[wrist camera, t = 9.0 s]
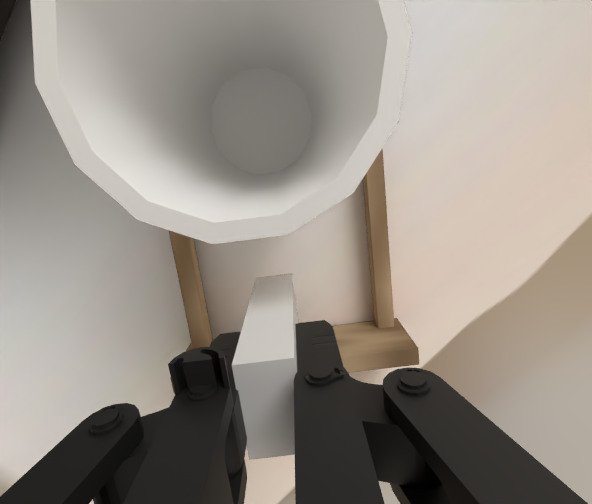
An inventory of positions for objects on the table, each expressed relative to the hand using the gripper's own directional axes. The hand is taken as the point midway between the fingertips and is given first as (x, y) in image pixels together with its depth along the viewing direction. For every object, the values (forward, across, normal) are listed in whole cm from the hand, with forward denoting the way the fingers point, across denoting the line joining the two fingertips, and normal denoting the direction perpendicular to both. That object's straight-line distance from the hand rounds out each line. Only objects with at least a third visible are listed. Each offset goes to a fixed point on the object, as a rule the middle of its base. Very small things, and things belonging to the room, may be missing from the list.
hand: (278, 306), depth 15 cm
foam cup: (+9, 0, +8) cm, 12 cm away
